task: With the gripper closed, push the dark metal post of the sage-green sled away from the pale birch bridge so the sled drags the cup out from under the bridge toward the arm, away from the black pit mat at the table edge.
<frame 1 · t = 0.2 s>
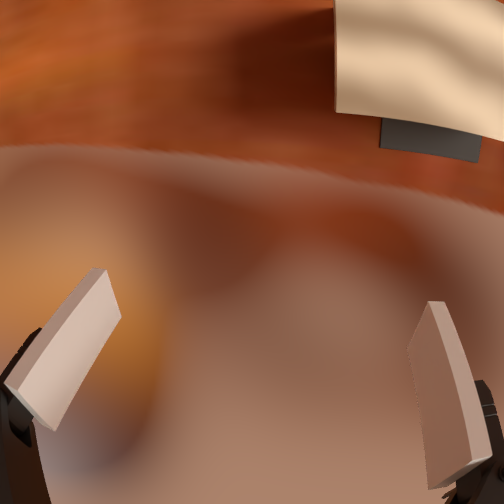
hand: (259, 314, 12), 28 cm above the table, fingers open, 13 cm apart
pit mat: (434, 138, 31), on the table
bridge: (424, 64, 27), on the table
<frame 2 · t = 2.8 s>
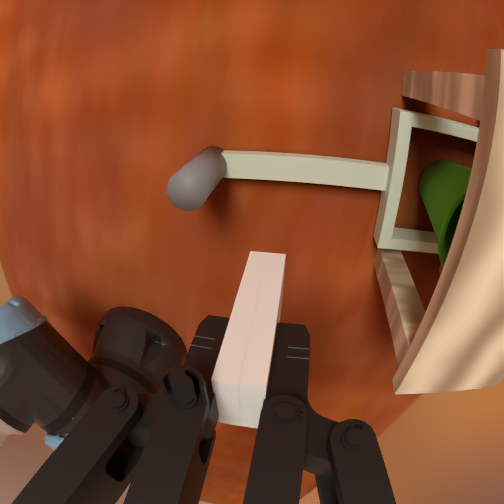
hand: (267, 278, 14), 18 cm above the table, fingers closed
sled: (364, 186, 25), point 4 cm above the table, slide at 0.0 cm
bridge: (440, 182, 27), on the table
cup: (439, 182, 27), resting in sled
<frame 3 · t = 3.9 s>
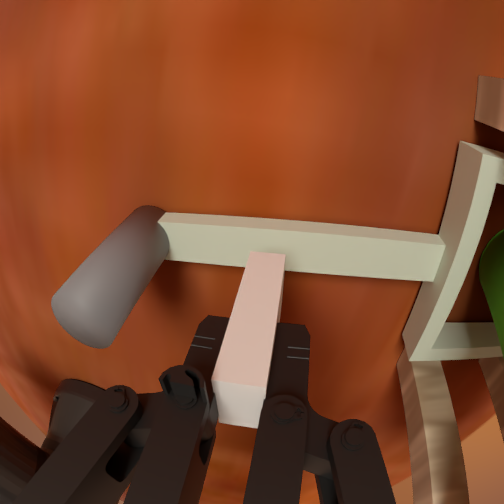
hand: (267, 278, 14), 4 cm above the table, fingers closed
sled: (409, 294, 13), point 4 cm above the table, slide at 0.0 cm
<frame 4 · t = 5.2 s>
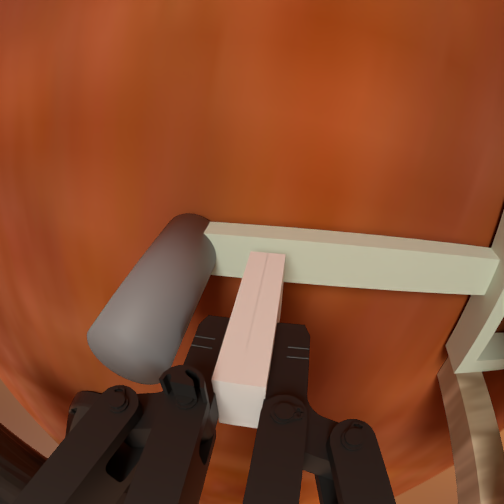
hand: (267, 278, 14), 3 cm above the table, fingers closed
sled: (473, 311, 11), point 4 cm above the table, slide at 0.2 cm, touching gripper
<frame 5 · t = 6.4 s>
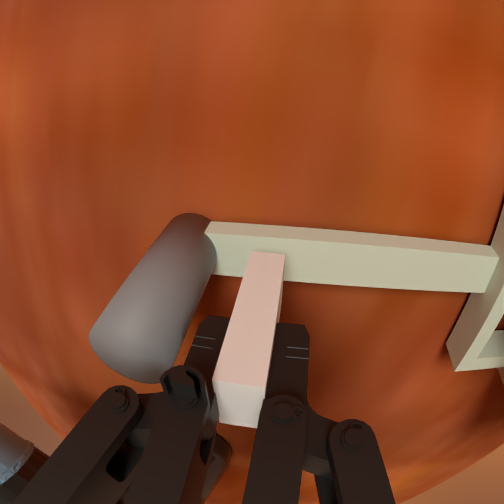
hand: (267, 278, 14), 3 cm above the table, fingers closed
sled: (473, 309, 11), point 4 cm above the table, slide at 6.8 cm, touching cup, gripper
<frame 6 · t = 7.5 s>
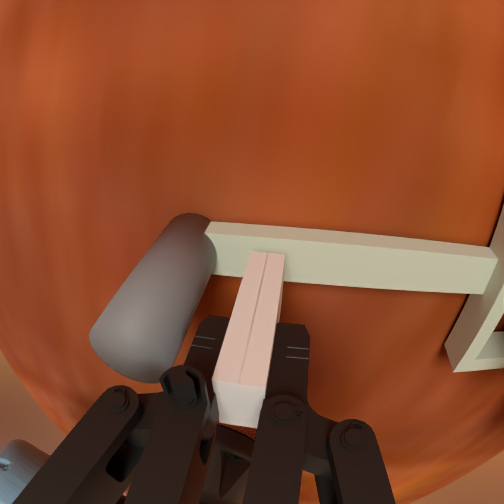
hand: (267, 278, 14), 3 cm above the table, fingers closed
sled: (472, 310, 12), point 4 cm above the table, slide at 11.0 cm, touching cup, gripper
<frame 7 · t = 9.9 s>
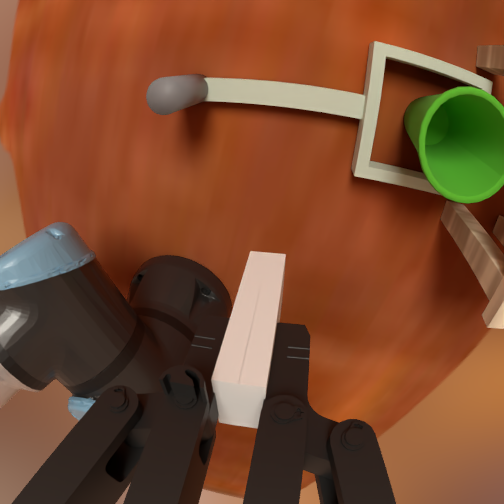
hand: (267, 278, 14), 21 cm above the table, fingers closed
sled: (338, 105, 24), point 4 cm above the table, slide at 11.1 cm
bridge: (500, 148, 25), on the table
cup: (425, 120, 27), resting in sled
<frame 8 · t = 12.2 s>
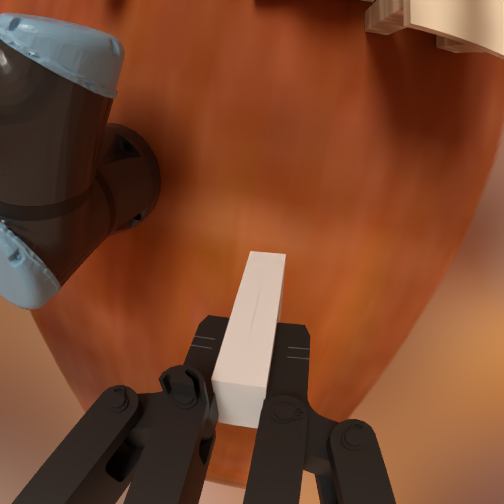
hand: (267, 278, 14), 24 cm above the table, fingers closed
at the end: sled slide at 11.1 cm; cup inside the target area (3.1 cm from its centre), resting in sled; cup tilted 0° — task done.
